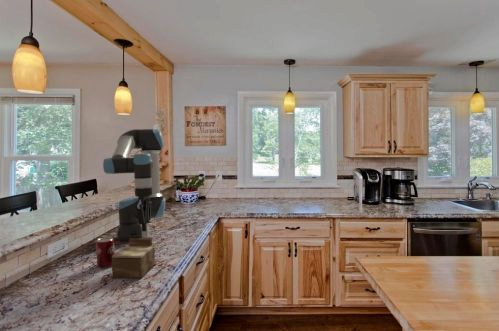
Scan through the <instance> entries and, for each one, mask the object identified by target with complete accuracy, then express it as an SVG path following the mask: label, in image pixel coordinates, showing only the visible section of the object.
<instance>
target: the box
mask: <svg viewBox="0 0 499 331" xmlns="http://www.w3.org/2000/svg"><path fill="white" fill-rule="evenodd" d="M155 254H156V253H155V247H154V248H152V249H151V250H150V251H149V252H148V253H147V254H145V255H144V256H143V257H142V258H113V259H112V267H111V270H112V271H111V272H112V274H111V275H112V279H116V280H117V279H120V280H121V279H124V280H125V279H127V280H130V279H131V280H134V279H135V280H136V279H137V280H138V279H139V280H142V279H143V278H144V277H145V276H146V275H147V274H148V273H149V272H150V271H151V270H152V269H153V268H154V267H155V266H156V261H155V260H156V259H155V258H156V257H155V256H156V255H155Z"/></svg>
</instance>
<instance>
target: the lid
mask: <svg viewBox="0 0 499 331" xmlns="http://www.w3.org/2000/svg"><path fill="white" fill-rule="evenodd" d="M152 248H154V249H155V244H153V238H150V237H148V238H142V237H141V238H130V239H129V240H128V244H127V245H126V246H125V247H123V248H122V249H120V250H119V251H118V252H115V254H114V255H113V256H112V258H142V257H143V256H144V255H145V254H147V253H148V252H149V251H150V250H151V249H152Z"/></svg>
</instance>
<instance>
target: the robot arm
mask: <svg viewBox="0 0 499 331" xmlns="http://www.w3.org/2000/svg"><path fill="white" fill-rule="evenodd" d="M163 140H164V139H163V135H162V131H161V130H160V129H158V128H157V129H155V128H149V129H148V128H147V129H146V128H143V129H137V128H135V129H130V130H127V131H126V132H123V133H122V134H121V135H120V136H119V137H118V139H117V142H116V148H115V150H114V152H113V154H112V157H108V158H107V157H106V158H104V159H103V163H102V164H103V165H102V168H103V171H104V173H105V174H107V175H109V174H110V175H112V174H113V175H115V174H116V175H117V174H134V177H133V178H134V180H133V182H134V187H135V188H134V197H127V198H124V199H122V200H120V201H119V202H118V207H117V208H118V209H117V210H118V222H119V223H118V224H119V226H118V229H117V232H116V240H118V241H129V239H130V238H150V230H149V229H150V228H149V227H150V224H149V223H151V219H158V218H159V219H160V218H163V217H164V216H165V209H166V198H165V197H164V195H163V193H161V178H160V176H161V175H160V174H161V173H160V153H161V152H162V149H164V148H165V147H164V141H163ZM134 149H141V150H140V151H141V153H135V154H133V157H130V155H131V153H132V150H134Z"/></svg>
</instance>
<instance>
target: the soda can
mask: <svg viewBox="0 0 499 331" xmlns="http://www.w3.org/2000/svg"><path fill="white" fill-rule="evenodd" d="M95 247H96V263H97V264H96V267H97V268H98V269H100V270H103V269H109V268H112V259H113V258H112V256H113V255H114V254H116V251H115V250H116V248H115V239H114V238H113V237H110V236H109V237H102V238H98V239H97V240H96V242H95Z"/></svg>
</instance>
